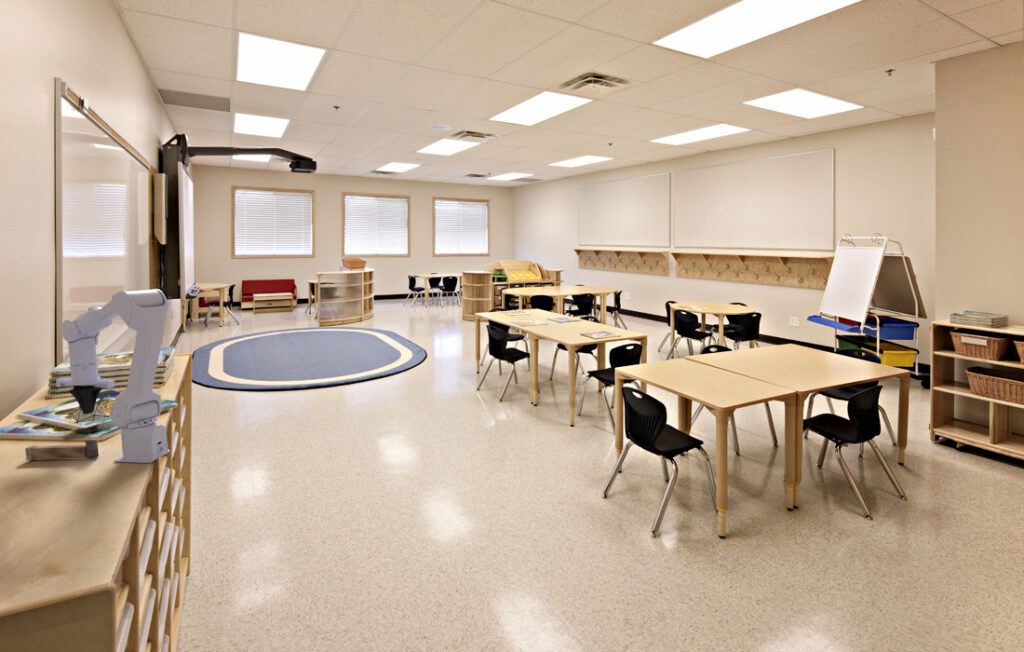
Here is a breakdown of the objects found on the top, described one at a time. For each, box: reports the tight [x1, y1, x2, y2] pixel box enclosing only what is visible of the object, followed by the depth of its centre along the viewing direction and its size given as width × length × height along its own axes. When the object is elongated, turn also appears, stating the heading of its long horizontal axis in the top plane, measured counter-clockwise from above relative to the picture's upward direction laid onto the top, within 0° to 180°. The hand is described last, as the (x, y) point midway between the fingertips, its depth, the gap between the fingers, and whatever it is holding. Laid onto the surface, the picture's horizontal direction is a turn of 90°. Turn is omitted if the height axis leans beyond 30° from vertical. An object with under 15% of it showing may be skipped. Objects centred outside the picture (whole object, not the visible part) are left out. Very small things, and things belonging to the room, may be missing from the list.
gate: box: [24, 437, 99, 461], centre depth 138 cm, size 16×2×5 cm, turn 97°
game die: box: [68, 401, 110, 424], centre depth 161 cm, size 9×8×10 cm
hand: (88, 412), depth 146 cm, fingers closed
